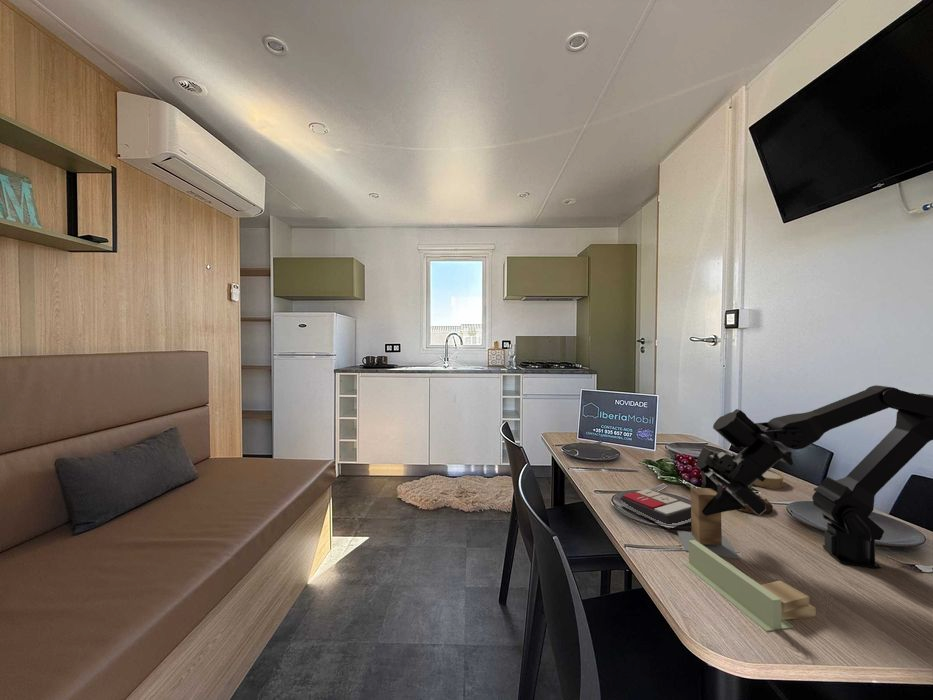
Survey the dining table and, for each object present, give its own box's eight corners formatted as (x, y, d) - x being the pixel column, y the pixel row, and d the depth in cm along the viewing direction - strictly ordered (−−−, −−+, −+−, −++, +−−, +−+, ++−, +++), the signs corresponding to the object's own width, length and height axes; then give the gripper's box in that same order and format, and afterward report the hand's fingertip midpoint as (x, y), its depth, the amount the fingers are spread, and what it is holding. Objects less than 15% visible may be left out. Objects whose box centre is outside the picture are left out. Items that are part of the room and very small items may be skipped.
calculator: (646, 487, 108) (696, 504, 94) (647, 501, 108) (697, 521, 94) (619, 494, 104) (667, 513, 90) (620, 509, 103) (668, 530, 90)
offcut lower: (785, 596, 66) (785, 588, 66) (815, 616, 61) (815, 607, 61) (751, 599, 65) (751, 590, 65) (779, 620, 60) (779, 611, 60)
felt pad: (725, 538, 85) (725, 536, 85) (739, 559, 77) (739, 558, 77) (676, 532, 89) (676, 530, 89) (685, 552, 80) (685, 550, 80)
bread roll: (778, 518, 94) (774, 498, 94) (726, 515, 100) (722, 496, 100) (769, 503, 103) (765, 485, 104) (722, 501, 109) (719, 484, 110)
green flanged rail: (705, 562, 76) (704, 538, 76) (793, 628, 58) (793, 597, 58) (683, 564, 75) (683, 541, 75) (766, 632, 58) (766, 601, 58)
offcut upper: (779, 588, 65) (780, 580, 65) (808, 605, 61) (809, 596, 61) (755, 594, 64) (756, 585, 64) (784, 612, 59) (784, 603, 59)
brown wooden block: (712, 535, 84) (711, 488, 84) (721, 544, 80) (720, 495, 80) (691, 534, 85) (690, 487, 85) (699, 543, 81) (698, 494, 81)
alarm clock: (788, 482, 110) (728, 465, 119) (784, 497, 111) (725, 480, 119) (781, 471, 120) (726, 456, 128) (778, 485, 120) (723, 469, 128)
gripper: (703, 427, 91) (657, 469, 93) (748, 448, 72) (689, 501, 74) (738, 459, 90) (691, 501, 92) (793, 489, 71) (732, 541, 73)
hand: (699, 509), depth 83 cm, fingers closed on brown wooden block, 4 cm apart
